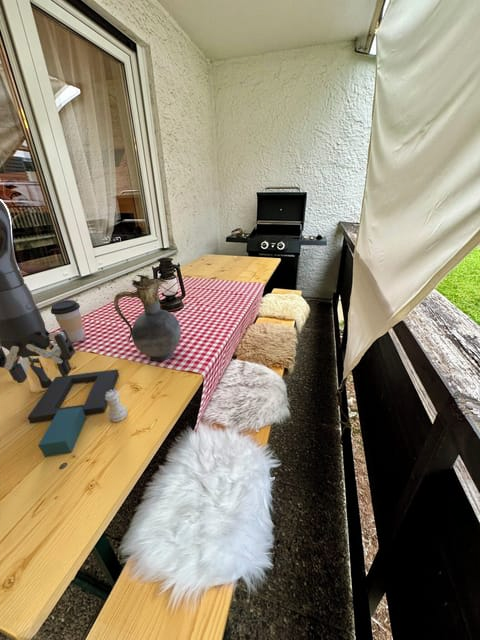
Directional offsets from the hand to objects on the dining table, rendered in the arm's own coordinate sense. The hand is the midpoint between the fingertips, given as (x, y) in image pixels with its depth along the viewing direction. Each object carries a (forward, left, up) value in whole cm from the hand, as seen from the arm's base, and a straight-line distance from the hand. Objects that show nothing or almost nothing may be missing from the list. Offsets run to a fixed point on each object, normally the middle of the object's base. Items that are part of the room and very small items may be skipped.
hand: (44, 377), depth 55 cm
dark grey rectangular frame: (-2, +13, -17) cm, 22 cm away
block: (0, -1, -17) cm, 17 cm away
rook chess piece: (+11, +3, -17) cm, 21 cm away
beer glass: (-15, +20, -17) cm, 30 cm away
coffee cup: (-15, +48, -17) cm, 53 cm away
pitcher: (+18, +29, -17) cm, 38 cm away
